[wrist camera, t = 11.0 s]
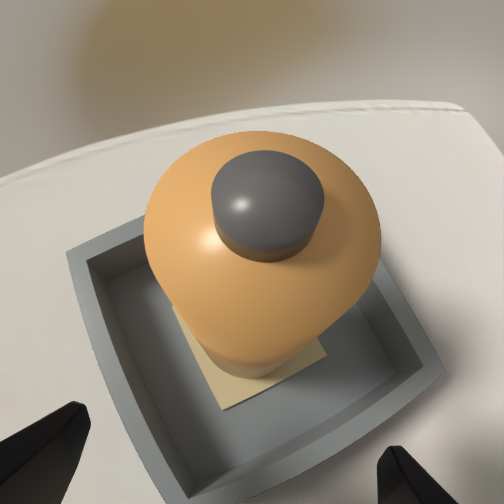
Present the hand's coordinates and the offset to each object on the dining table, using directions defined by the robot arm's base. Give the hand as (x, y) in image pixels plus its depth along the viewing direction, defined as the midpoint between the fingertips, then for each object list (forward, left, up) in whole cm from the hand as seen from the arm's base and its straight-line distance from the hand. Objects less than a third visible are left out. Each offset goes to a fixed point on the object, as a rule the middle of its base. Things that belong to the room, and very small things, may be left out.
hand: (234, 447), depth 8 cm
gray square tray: (+4, -3, -8) cm, 10 cm away
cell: (+4, -3, -7) cm, 9 cm away
